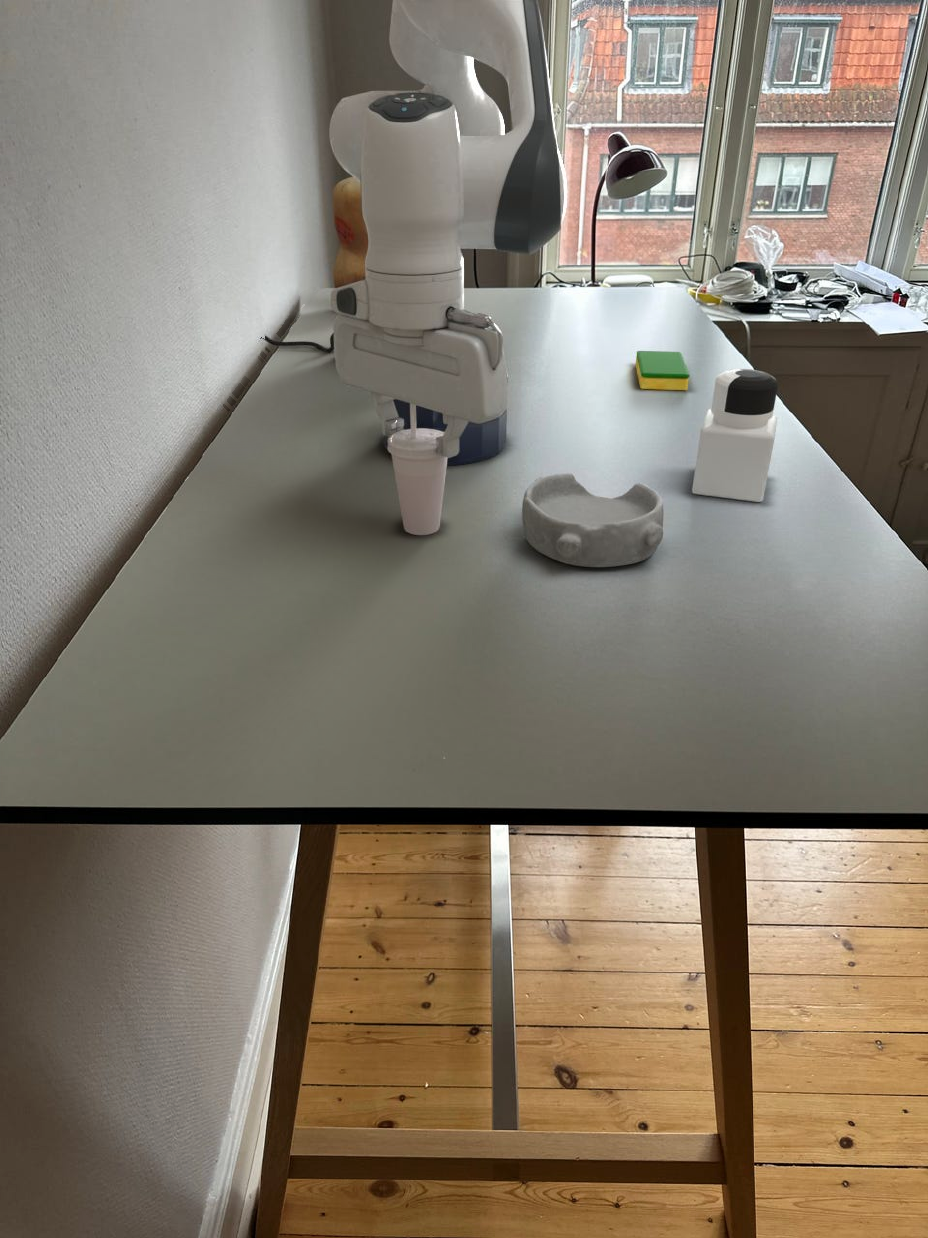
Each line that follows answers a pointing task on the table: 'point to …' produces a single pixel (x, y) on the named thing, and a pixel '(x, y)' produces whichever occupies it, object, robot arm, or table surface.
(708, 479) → the container
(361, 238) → the butternut squash
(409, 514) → the smoothie
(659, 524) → the dish
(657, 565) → the table surface
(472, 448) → the pot
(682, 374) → the dish sponge
